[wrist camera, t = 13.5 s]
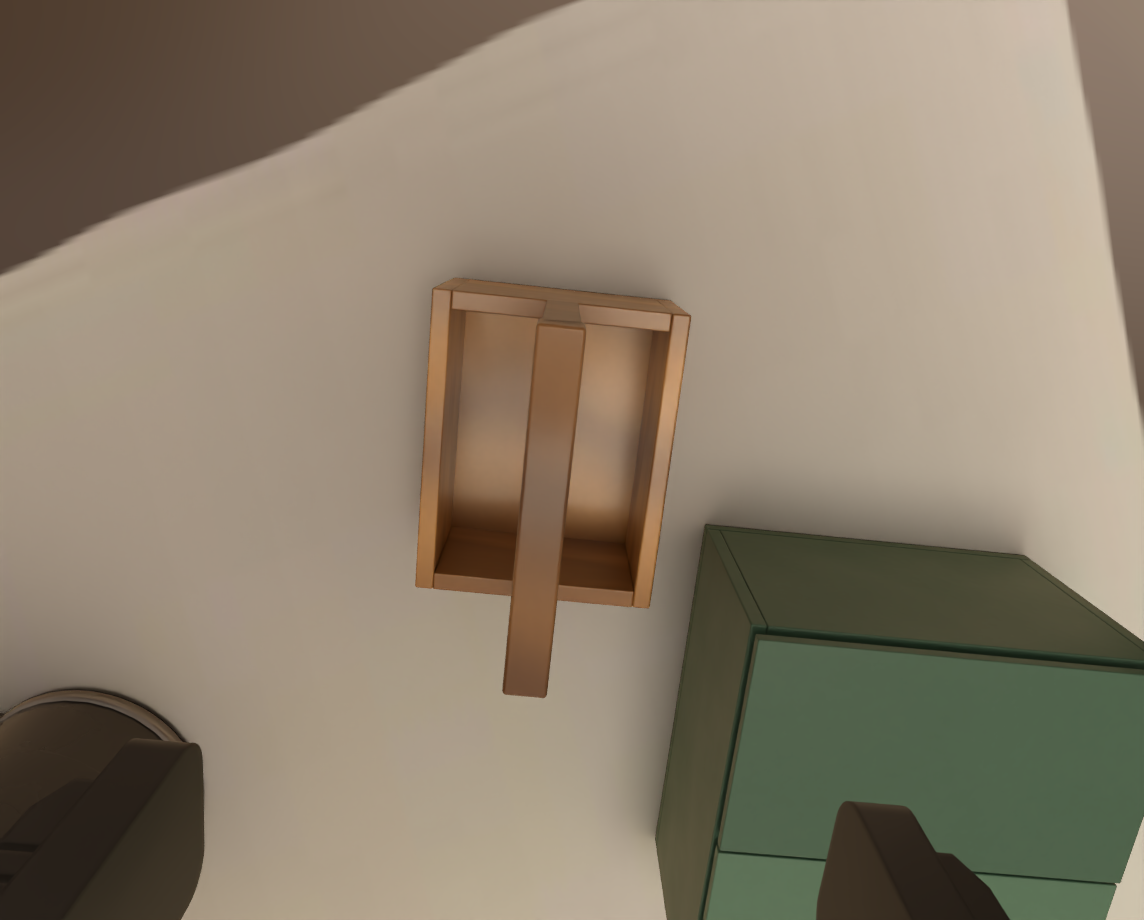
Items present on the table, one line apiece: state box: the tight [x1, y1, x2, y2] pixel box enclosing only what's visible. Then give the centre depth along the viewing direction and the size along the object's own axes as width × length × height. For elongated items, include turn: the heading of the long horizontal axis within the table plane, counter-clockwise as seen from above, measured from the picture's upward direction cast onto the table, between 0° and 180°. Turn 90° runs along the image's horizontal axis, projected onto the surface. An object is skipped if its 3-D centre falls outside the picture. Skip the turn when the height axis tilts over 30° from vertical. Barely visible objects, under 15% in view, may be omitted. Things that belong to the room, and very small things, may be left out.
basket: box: [415, 278, 691, 698], centre depth 26 cm, size 10×8×11 cm
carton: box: [655, 525, 1144, 920], centre depth 31 cm, size 15×13×9 cm
